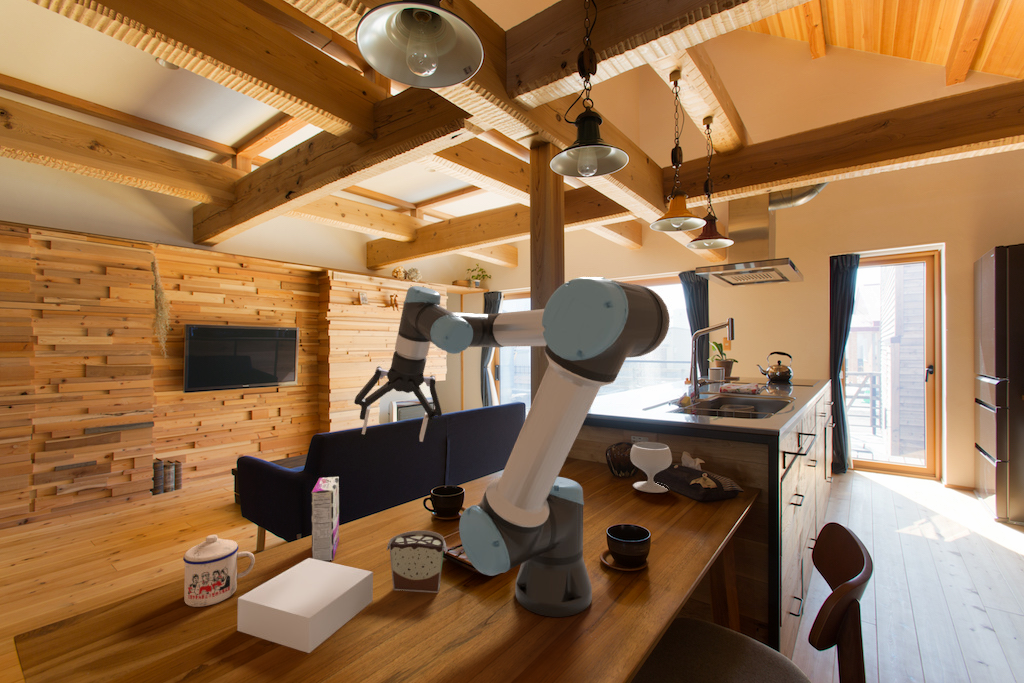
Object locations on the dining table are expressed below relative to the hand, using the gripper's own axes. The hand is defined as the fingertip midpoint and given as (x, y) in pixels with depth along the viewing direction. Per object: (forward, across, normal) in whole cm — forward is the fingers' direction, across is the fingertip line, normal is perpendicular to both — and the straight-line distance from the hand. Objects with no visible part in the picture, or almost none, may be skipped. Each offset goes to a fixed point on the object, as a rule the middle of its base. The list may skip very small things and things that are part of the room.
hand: (392, 435), depth 109 cm
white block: (+22, +10, +31) cm, 39 cm away
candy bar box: (+30, +10, +6) cm, 32 cm away
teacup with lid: (+29, +28, +20) cm, 45 cm away
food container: (+20, -10, +24) cm, 33 cm away
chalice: (+19, -92, -20) cm, 96 cm away
